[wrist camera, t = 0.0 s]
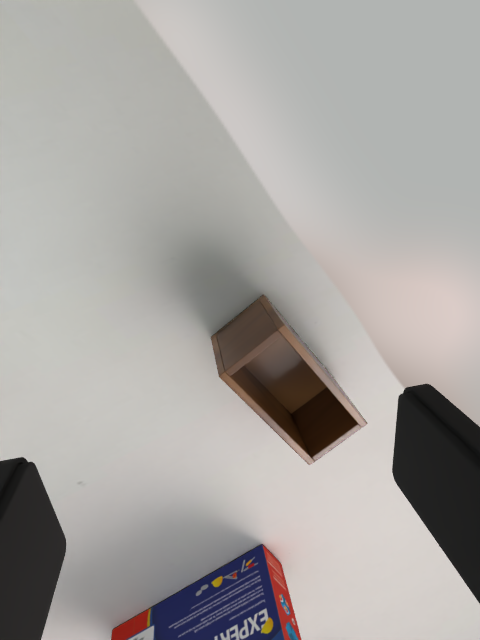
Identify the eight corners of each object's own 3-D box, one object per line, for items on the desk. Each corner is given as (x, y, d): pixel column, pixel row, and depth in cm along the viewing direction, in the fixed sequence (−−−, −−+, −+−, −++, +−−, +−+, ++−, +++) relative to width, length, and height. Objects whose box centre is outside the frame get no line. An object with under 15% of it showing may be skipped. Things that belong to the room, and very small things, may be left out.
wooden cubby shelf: (210, 337, 27) (218, 376, 22) (263, 293, 27) (284, 324, 22) (287, 416, 31) (309, 465, 26) (335, 380, 31) (367, 423, 26)
